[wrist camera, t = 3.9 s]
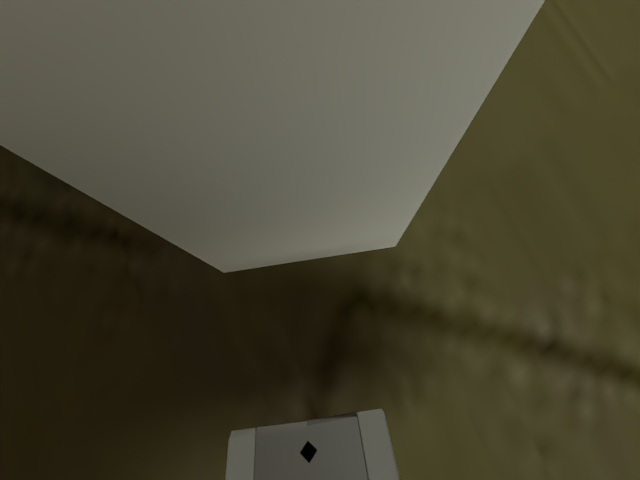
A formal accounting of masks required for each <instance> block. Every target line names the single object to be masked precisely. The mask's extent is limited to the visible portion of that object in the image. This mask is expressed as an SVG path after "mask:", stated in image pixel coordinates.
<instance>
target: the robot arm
mask: <svg viewBox="0 0 640 480" xmlns="http://www.w3.org/2000/svg"><path fill="white" fill-rule="evenodd" d="M225 480H400V478H399V474H398V469H397V465H396V461H395V457H394V452H393V448H392V444H391V439H390V435H389V431H388V427H387V422H386V418H385V414H384V412H383V410H382V408H381V409H375V410H369V411H363V412H357V414H356V412H352V413H346V414H340V415H334V416H328V417H322V418H316V419H310V420H307V421H302V422H295V423H287V424H279V425H272V426H264V427H255V428H248V429H242V430H235V431H231V434H230V438H229V443H228V454H227V466H226V477H225Z"/></svg>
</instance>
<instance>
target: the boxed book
mask: <svg viewBox="0 0 640 480" xmlns="http://www.w3.org/2000/svg"><path fill="white" fill-rule="evenodd" d="M544 1H545V0H0V145H1V146H3V147H4V148H6V149H8V150H10V151H11V152H13V153H15V154H17V155H18V156H20V157H22V158H24V159H25V160H27V161H29V162H31V163H32V164H34V165H36V166H38V167H39V168H41V169H43V170H45V171H46V172H48V173H50V174H52V175H53V176H55V177H57V178H59V179H60V180H62V181H64V182H66V183H67V184H69V185H71V186H73V187H75V188H76V189H78V190H80V191H82V192H83V193H85V194H87V195H89V196H90V197H92V198H94V199H96V200H97V201H99V202H101V203H103V204H104V205H106V206H108V207H110V208H111V209H113V210H115V211H117V212H118V213H120V214H122V215H124V216H125V217H127V218H129V219H131V220H132V221H134V222H136V223H138V224H139V225H141V226H143V227H145V228H146V229H148V230H150V231H152V232H153V233H155V234H157V235H159V236H160V237H162V238H164V239H166V240H167V241H169V242H171V243H173V244H174V245H176V246H178V247H180V248H181V249H183V250H185V251H187V252H188V253H190V254H192V255H194V256H195V257H197V258H199V259H201V260H202V261H204V262H206V263H208V264H209V265H211V266H213V267H215V268H216V269H218V270H220V271H222V272H223V273H226V272H233V271H239V270H246V269H252V268H259V267H265V266H272V265H278V264H285V263H291V262H298V261H304V260H311V259H317V258H324V257H330V256H337V255H343V254H350V253H357V252H363V251H370V250H376V249H383V248H389V247H395V246H396V245H397V243H398V241H399V240H400V238H401V236H402V235H403V233H404V231H405V230H406V228H407V226H408V225H409V223H410V221H411V220H412V218H413V217H414V215H415V213H416V212H417V210H418V208H419V207H420V205H421V203H422V202H423V200H424V198H425V197H426V195H427V194H428V192H429V190H430V189H431V187H432V185H433V184H434V182H435V180H436V179H437V177H438V175H439V174H440V172H441V170H442V169H443V167H444V166H445V164H446V162H447V161H448V159H449V157H450V156H451V154H452V152H453V151H454V149H455V147H456V146H457V144H458V142H459V141H460V139H461V138H462V136H463V134H464V133H465V131H466V129H467V128H468V126H469V124H470V123H471V121H472V119H473V118H474V116H475V114H476V113H477V111H478V110H479V108H480V106H481V105H482V103H483V101H484V100H485V98H486V96H487V95H488V93H489V91H490V90H491V88H492V87H493V85H494V83H495V82H496V80H497V78H498V77H499V75H500V73H501V72H502V70H503V68H504V67H505V65H506V63H507V62H508V60H509V59H510V57H511V55H512V54H513V52H514V50H515V49H516V47H517V45H518V44H519V42H520V40H521V39H522V37H523V35H524V34H525V32H526V31H527V29H528V27H529V26H530V24H531V22H532V21H533V19H534V17H535V16H536V14H537V12H538V11H539V9H540V7H541V6H542V4H543V3H544Z"/></svg>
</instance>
